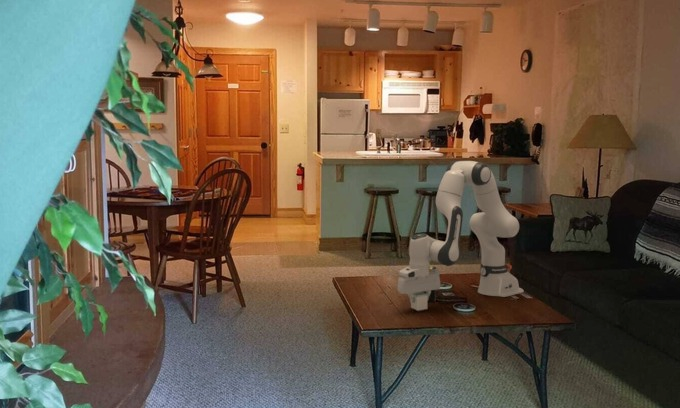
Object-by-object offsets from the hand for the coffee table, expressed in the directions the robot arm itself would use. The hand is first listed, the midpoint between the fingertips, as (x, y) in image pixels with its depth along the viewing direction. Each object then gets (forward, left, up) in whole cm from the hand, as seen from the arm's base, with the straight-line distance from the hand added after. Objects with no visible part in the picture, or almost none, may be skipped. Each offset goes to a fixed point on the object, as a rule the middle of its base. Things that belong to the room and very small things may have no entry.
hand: (419, 301), depth 275 cm
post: (0, 0, -4) cm, 4 cm away
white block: (0, 0, -3) cm, 3 cm away
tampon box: (-13, -15, -4) cm, 20 cm away
